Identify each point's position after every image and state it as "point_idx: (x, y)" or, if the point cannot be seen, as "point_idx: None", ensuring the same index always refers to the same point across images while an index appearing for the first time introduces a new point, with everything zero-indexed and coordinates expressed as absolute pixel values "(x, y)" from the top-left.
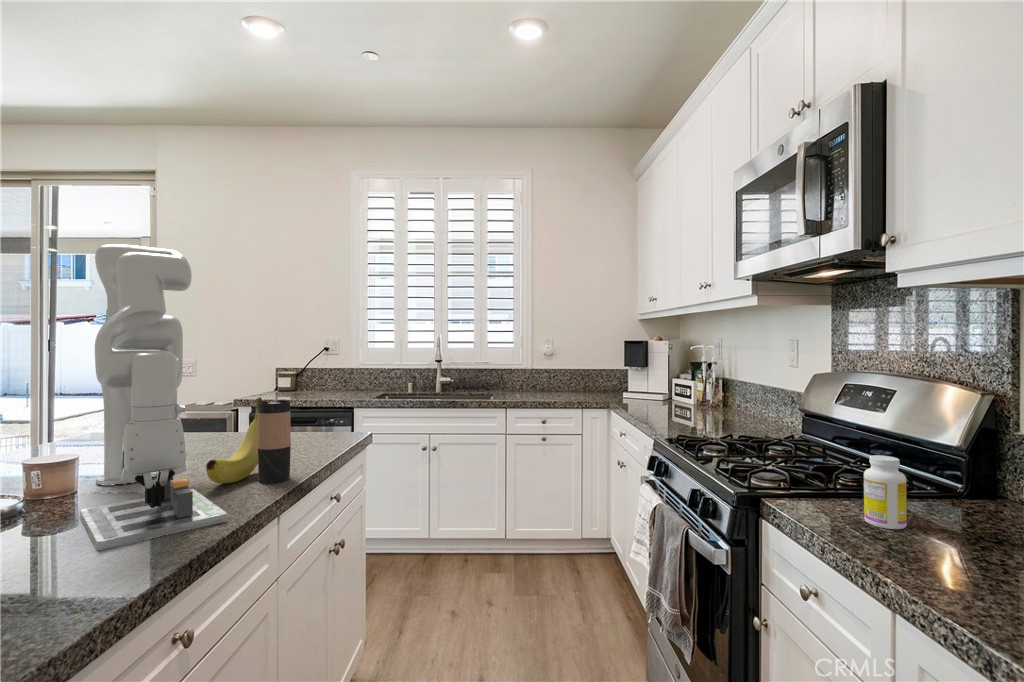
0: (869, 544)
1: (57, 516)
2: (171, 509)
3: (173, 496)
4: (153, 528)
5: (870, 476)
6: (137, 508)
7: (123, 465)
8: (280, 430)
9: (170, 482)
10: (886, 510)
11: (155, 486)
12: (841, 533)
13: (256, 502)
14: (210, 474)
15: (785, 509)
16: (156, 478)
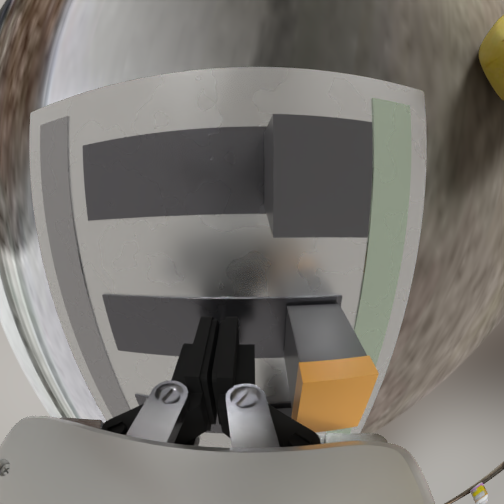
0: (454, 498)
1: (21, 73)
2: (274, 353)
3: (289, 377)
4: (205, 443)
5: (480, 500)
6: (171, 242)
7: (10, 433)
8: None
9: (299, 381)
10: (472, 494)
11: (216, 406)
12: (464, 491)
13: (464, 335)
14: (500, 85)
15: (490, 472)
16: (272, 128)
